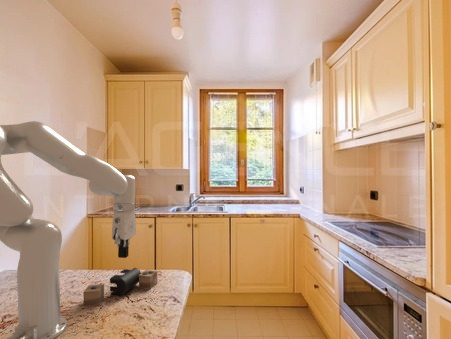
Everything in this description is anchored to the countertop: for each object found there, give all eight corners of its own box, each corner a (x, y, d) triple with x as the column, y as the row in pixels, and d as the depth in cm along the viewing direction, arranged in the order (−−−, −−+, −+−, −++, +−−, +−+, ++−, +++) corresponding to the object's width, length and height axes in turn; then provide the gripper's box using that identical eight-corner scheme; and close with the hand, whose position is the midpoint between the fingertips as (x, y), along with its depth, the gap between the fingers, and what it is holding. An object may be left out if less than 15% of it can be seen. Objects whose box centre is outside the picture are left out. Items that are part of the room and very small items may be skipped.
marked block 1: (99, 305, 86) (99, 289, 86) (83, 306, 85) (83, 291, 85) (104, 297, 91) (103, 283, 91) (89, 299, 90) (88, 284, 90)
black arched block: (126, 297, 90) (125, 278, 90) (109, 295, 92) (108, 277, 92) (142, 285, 100) (141, 268, 100) (126, 283, 102) (126, 266, 102)
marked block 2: (150, 289, 96) (150, 275, 96) (139, 288, 98) (138, 274, 98) (157, 283, 101) (157, 270, 101) (146, 282, 102) (146, 269, 102)
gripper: (123, 210, 88) (122, 264, 87) (142, 205, 103) (141, 251, 102) (103, 210, 89) (102, 263, 88) (124, 205, 103) (123, 251, 103)
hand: (123, 256), depth 95 cm, fingers closed
